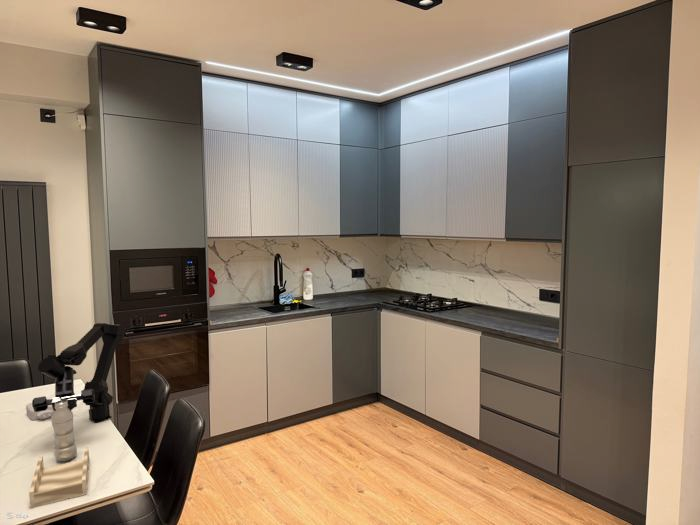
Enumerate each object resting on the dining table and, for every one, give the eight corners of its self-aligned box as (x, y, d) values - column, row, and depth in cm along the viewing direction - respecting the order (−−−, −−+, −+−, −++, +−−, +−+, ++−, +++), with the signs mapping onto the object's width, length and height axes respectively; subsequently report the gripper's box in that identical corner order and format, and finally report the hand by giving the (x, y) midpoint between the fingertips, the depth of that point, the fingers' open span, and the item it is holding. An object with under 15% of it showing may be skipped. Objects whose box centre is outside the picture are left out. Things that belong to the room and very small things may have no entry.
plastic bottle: (82, 455, 170) (77, 398, 168) (64, 465, 163) (59, 406, 161) (67, 453, 172) (62, 397, 170) (50, 462, 166) (44, 404, 164)
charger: (34, 426, 196) (26, 415, 207) (61, 418, 202) (52, 408, 213) (33, 414, 195) (25, 404, 206) (60, 407, 202) (51, 397, 213)
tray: (40, 470, 161) (39, 457, 160) (89, 460, 167) (88, 447, 166) (30, 507, 140) (29, 492, 140) (86, 494, 146) (85, 479, 146)
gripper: (95, 388, 190) (96, 427, 181) (37, 397, 182) (36, 438, 173) (92, 373, 182) (94, 413, 173) (32, 382, 174) (31, 424, 165)
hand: (64, 423), depth 171 cm, fingers closed
